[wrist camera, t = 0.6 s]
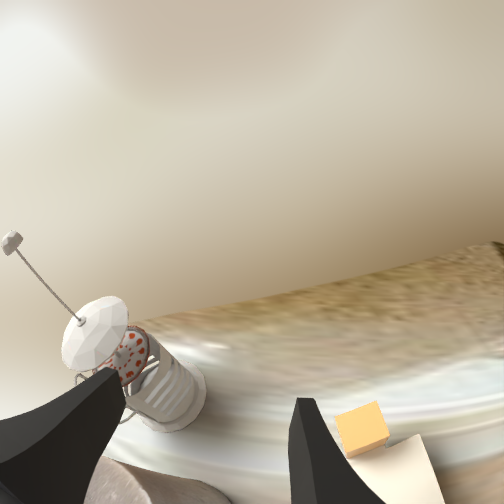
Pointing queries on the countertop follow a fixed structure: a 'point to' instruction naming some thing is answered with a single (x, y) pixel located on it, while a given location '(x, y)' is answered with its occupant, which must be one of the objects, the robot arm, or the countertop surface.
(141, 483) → the pillar candle
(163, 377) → the french press
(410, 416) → the countertop surface
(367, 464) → the lid
